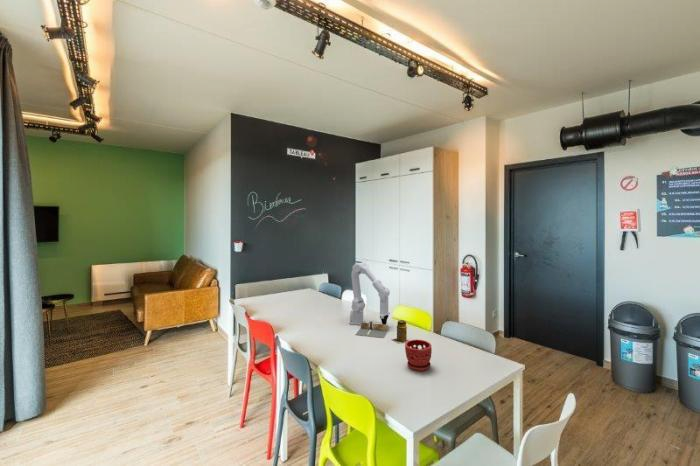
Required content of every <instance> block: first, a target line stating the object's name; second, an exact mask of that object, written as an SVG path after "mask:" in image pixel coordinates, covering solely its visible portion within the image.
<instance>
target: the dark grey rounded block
mask: <svg viewBox="0 0 700 466" xmlns="http://www.w3.org/2000/svg"><path fill="white" fill-rule="evenodd" d="M369 327H370V330H372V327H373V321H371V320H370V321H369V322H365V323H364V322H361V325H360V328H361V329H369Z"/></svg>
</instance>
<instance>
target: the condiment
mask: <svg viewBox="0 0 700 466" xmlns="http://www.w3.org/2000/svg"><path fill="white" fill-rule="evenodd" d="M396 323H397V324H396V338H392V339H391V340H392V341H393V342H394V343H397V344H402V343H406V342H408V341H410V339H407V337H408V336H407V329H408V327H407V321H406V320H402V319H399V320H397V322H396Z"/></svg>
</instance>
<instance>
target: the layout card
mask: <svg viewBox="0 0 700 466" xmlns="http://www.w3.org/2000/svg"><path fill="white" fill-rule="evenodd" d="M388 332H389V328H386V331H381V330H373V326H372V330H370V326H369V329H361V327H360V329H359V330H358V331H357V332H356V333H355V336H360V337H370V338H378V339H385V337H386V335H387V334H388Z"/></svg>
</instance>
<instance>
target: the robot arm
mask: <svg viewBox="0 0 700 466" xmlns="http://www.w3.org/2000/svg"><path fill="white" fill-rule="evenodd" d="M351 268H352V270H351V273H350V274H351V275H350V276H351V284H352V286H351V287H352V293H353V294H352V295H353V299H352V300H351V301H352V302H351V309H352V310H351V311H350V312H349V313H350V314H349V325H357V326H361V322H364V323H366V321H365V320H364V310H365V307H366V303H365V301H364V298H363V297H362V292H361V283H360V275H361V274H363V275H365V276H366V277H367V278H368V279H369V280H370V281H371V282H372V286H373V288H374V289H375V290H376V292H377V294H378V297H379V314H380V315H379V319H380V321H381V324H385V325H386V326H387V323H388V318H389V317H390V314H391V312H389V296H390V294H391V293H390V292H391V291H390V290H389V288H388V287H386V286H384V284H383V283H382V281H381V280H380V279H377V278H376V276H375V275H374V274H373V272H372V271H371V269H370V268H369V265H368V264H367V263H366V262H364V261H363V262H359V263H355V264H354V265H352V267H351Z"/></svg>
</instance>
